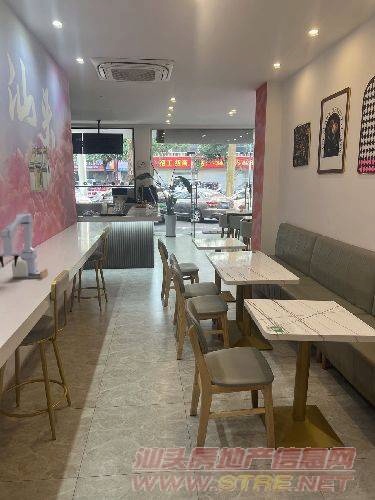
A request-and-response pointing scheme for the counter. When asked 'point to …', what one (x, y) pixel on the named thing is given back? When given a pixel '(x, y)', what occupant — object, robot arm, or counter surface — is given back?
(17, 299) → the counter surface
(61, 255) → the counter surface
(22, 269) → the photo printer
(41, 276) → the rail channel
